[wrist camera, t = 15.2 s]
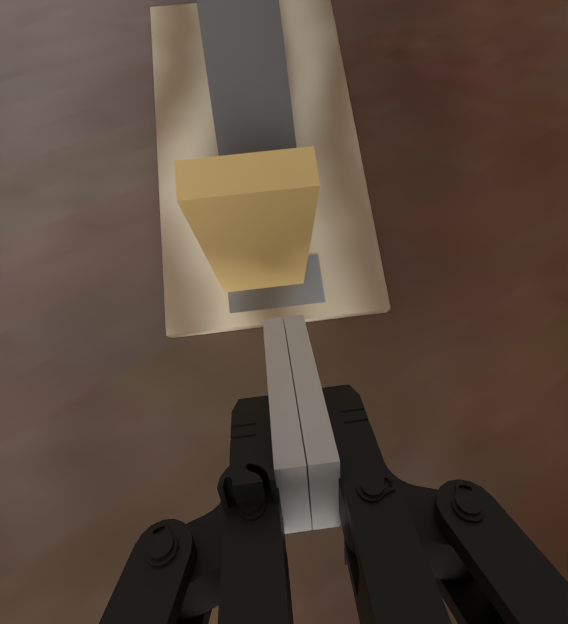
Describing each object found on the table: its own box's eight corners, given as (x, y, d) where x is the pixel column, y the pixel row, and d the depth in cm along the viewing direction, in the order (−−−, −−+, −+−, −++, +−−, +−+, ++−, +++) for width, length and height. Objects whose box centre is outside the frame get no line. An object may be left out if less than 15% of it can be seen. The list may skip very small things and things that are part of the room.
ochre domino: (300, 259, 24) (313, 145, 14) (303, 283, 24) (320, 185, 13) (222, 268, 24) (174, 160, 13) (224, 292, 24) (176, 201, 13)
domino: (296, 172, 26) (275, -2, 24) (298, 165, 24) (276, -21, 23) (224, 181, 26) (199, 6, 24) (221, 175, 24) (194, -12, 23)
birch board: (327, 4, 31) (328, -11, 30) (386, 312, 25) (391, 308, 23) (154, 19, 30) (149, 5, 29) (170, 337, 24) (165, 334, 23)
